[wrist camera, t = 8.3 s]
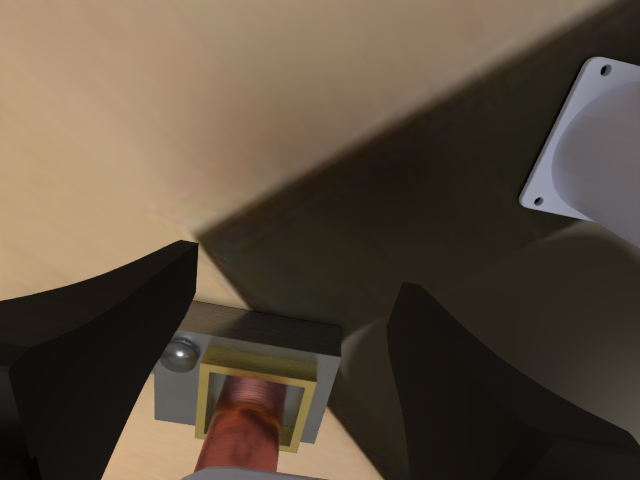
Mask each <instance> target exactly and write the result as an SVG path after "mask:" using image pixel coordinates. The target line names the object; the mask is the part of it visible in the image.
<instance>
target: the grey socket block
mask: <svg viewBox="0 0 640 480" xmlns="http://www.w3.org/2000/svg"><path fill="white" fill-rule="evenodd" d="M340 360H341V340H340V327H338V326H332V325H326V324H321V323H315V322H309V321H304V320H298V319H293V318H287V317H281V316H276V315H270V314H264V313H259V312H253V311H247V310H242V309H236V308H230V307H225V306H219V305H214V304H208V303H202V302H197V301H192V302H191V305H190V307H189V309H188V311H187V314H186V316H185V318H184V319H183V321H182V323H181V324H180V326H179V328H178V329H177V331H176V333H175V334H174V336H173V337H172V339H171V341H170V342H169V344H168V345H167V347H166V349H165V350H164V352H163V354H162V355H161V357H160V358H159V360H158V362H157V363H156V365H155V366H154V368H153V370H152V371H151V373H152V374H154V388H155V420H161V421H168V422H174V423H181V424H188V425H194V426H196V427H195V438H198V439H205V437H206V434H207V431H208V428H209V425H210V422H211V419H212V416H213V413H214V410H215V407H216V404H217V401H218V398H219V396H220V393H221V390H222V387H223V384H224V381H225V380H226V378H227V377H228V376H229V375H232V376H238V377H244V378H250V379H256V380H262V381H269V382H275V383H281V384H284V386H285V389H286V400H285V408H284V415H283V423H282V431H281V439H280V447H279V451H285V452H291V453H297V450H298V447H299V443H300V442H306V443H312V444H314V443H315V440H316V437H317V434H318V430H319V427H320V424H321V421H322V418H323V414H324V411H325V408H326V405H327V402H328V398H329V395H330V392H331V389H332V386H333V382H334V379H335V376H336V373H337V370H338V366H339V363H340Z"/></svg>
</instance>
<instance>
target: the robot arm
mask: <svg viewBox="0 0 640 480" xmlns="http://www.w3.org/2000/svg"><path fill="white" fill-rule="evenodd" d="M603 66H606V71H605V73H604V74H603V75H601V73H600V71H601V69H602V67H603ZM538 197H540V200H539V201H538V202H537V203H534V201H535V199H536V198H538ZM519 203H520V204H521V205H522V206H524V207H526V208H531V209H536V210H540V211H545V212H550V213H555V214H560V215H564V216H569V217H574V218H579V219H583V220H588V221H593V222H597V223H598V224H600V225H602V226H603V227H605V228H607V229H608V230H610V231H612V232H613V233H615V234H617V235H618V236H620V237H622V238H623V239H625V240H627V241H629V242H630V243H632V244H633V245H635V246H637V247H639V248H640V66H637V65H633V64H629V63H625V62H620V61H616V60H612V59H608V58H604V57H592V58H590V59H588V60H587V61H586V62H585V63H584V65H583V66H582V68H581V70H580V72H579V74H578V77H577V79H576V81H575V83H574V85H573V87H572V89H571V91H570V93H569V95H568V97H567V99H566V101H565V103H564V105H563V108H562V110H561V112H560V114H559V116H558V118H557V120H556V122H555V124H554V126H553V128H552V130H551V132H550V134H549V137H548V139H547V141H546V143H545V145H544V147H543V149H542V151H541V153H540V155H539V157H538V159H537V161H536V163H535V165H534V168H533V170H532V172H531V174H530V176H529V178H528V180H527V182H526V184H525V186H524V188H523V190H522V192H521V194H520V197H519ZM198 245H199V243H195V242H189V241H184V240H179V241H176V242H174V243H172V244H170V245H168V246H165V247H163V248H161V249H159V250H157V251H155V252H153V253H151V254H149V255H147V256H144V257H142V258H140V259H138V260H136V261H134V262H131V263H129V264H126V265H124V266H122V267H119V268H117V269H114V270H112V271H110V272H107V273H104V274H102V275H99V276H96V277H93V278H90V279H87V280H84V281H81V282H78V283H75V284H72V285H68V286H65V287H61V288H57V289H53V290H49V291H45V292H41V293H37V294H33V295H28V296H24V297H19V298H14V299H8V300H3V301H0V480H101V478H102V476H103V474H104V472H105V469H106V467H107V465H108V462H109V460H110V458H111V455H112V453H113V451H114V449H115V446H116V444H117V442H118V439H119V437H120V435H121V433H122V431H123V429H124V426H125V424H126V422H127V420H128V418H129V416H130V413H131V411H132V409H133V407H134V405H135V403H136V401H137V399H138V397H139V395H140V392H141V390H142V388H143V386H144V384H145V382H146V380H147V379H148V377H149V375H150V373H151V371H152V370H153V368H154V366H155V365H156V363H157V362H158V360H159V358H160V357H161V355H162V354H163V352H164V350H165V349H166V347H167V345H168V344H169V342H170V341H171V339H172V337H173V336H174V334H175V333H176V331H177V329H178V328H179V326H180V324H181V323H182V321H183V319H184V318H185V316H186V314H187V311H188V309H189V307H190V305H191V302H192V300H193V298H194V295H195V293H196V279H197V262H198ZM387 339H388V351H389V356H390V361H391V365H392V370H393V374H394V378H395V382H396V387H397V391H398V396H399V400H400V404H401V409H402V414H403V419H404V425H405V434H406V442H407V450H408V460H409V471H410V480H640V445H639V444H638V442H637V441H636V440H635V439H634V437H633V436H632V435H631V434H630V433H629V432H628V431H625V430H624V429H622V428H620V427H618V426H616V425H614V424H612V423H610V422H608V421H605V420H604V419H602V418H599V417H598V416H595V415H593V414H591V413H589V412H587V411H585V410H583V409H582V408H579V407H578V406H576V405H574V404H572V403H571V402H569V401H567V400H565V399H564V398H562V397H560V396H558V395H557V394H555V393H553V392H551V391H550V390H548V389H546V388H545V387H543V386H542V385H540V384H538V383H537V382H535V381H534V380H532V379H531V378H529V377H528V376H526V375H524V374H523V373H522V372H520V371H518V370H517V369H516V368H514V367H513V366H511V365H510V364H508V363H507V362H506V361H505V360H503V359H502V358H500V357H499V356H498V355H497V354H495V353H494V352H493V351H491V350H490V349H489V348H488V347H486V346H485V345H484V344H482V343H481V342H480V341H479V340H478V339H477V338H476V337H475V336H473V335H472V334H471V333H470V332H469V331H468V330H467V329H466V328H464V327H463V326H462V325H461V324H460V323H459V322H458V321H457V320H456V319H455V318H454V317H453V316H452V315H450V313H449V312H448V311H447V310H446V309H444V307H443V306H442V305H441V304H440V303H438V302H437V300H435V298H434V297H433V296H431V295H430V294H429V293H428V292H427V291H426V290H425V289H424V288H423V287H422V286H420V285H417V284H412V283H406V282H403V284H402V286H401V289H400V292H399V295H398V297H397V300H396V303H395V305H394V308H393V311H392V313H391V316H390V319H389V322H388V324H387ZM181 480H327V479H320V478H313V477H307V476H300V475H293V474H286V473H279V472H272V471H265V470H259V469H252V468H245V467H238V466H217V467H207V468H204V469H202V470H199V471H197V472H195V473H192V474H190V475H188V476H186V477H184V478H182V479H181Z"/></svg>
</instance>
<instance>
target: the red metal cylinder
mask: <svg viewBox="0 0 640 480" xmlns="http://www.w3.org/2000/svg"><path fill="white" fill-rule="evenodd" d="M285 400H286V389H285V386H284V384H281V383H275V382H269V381H262V380H256V379H250V378H244V377H238V376H232V375H229V376H228V377H227V378H226V380H225V381H224V384H223V387H222V390H221V393H220V396H219V398H218V401H217V404H216V407H215V410H214V413H213V416H212V419H211V422H210V425H209V428H208V431H207V434H206V437H205V440H204V443H203V446H202V449H201V452H200V455H199V458H198V461H197V464H196V467H195V470H194V473H195V472H197V471H199V470H202V469H204V468H207V467H217V466H238V467H245V468H252V469H259V470H265V471H272V472H276V471H277V463H278V455H279V447H280V439H281V431H282V423H283V415H284V408H285Z"/></svg>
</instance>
